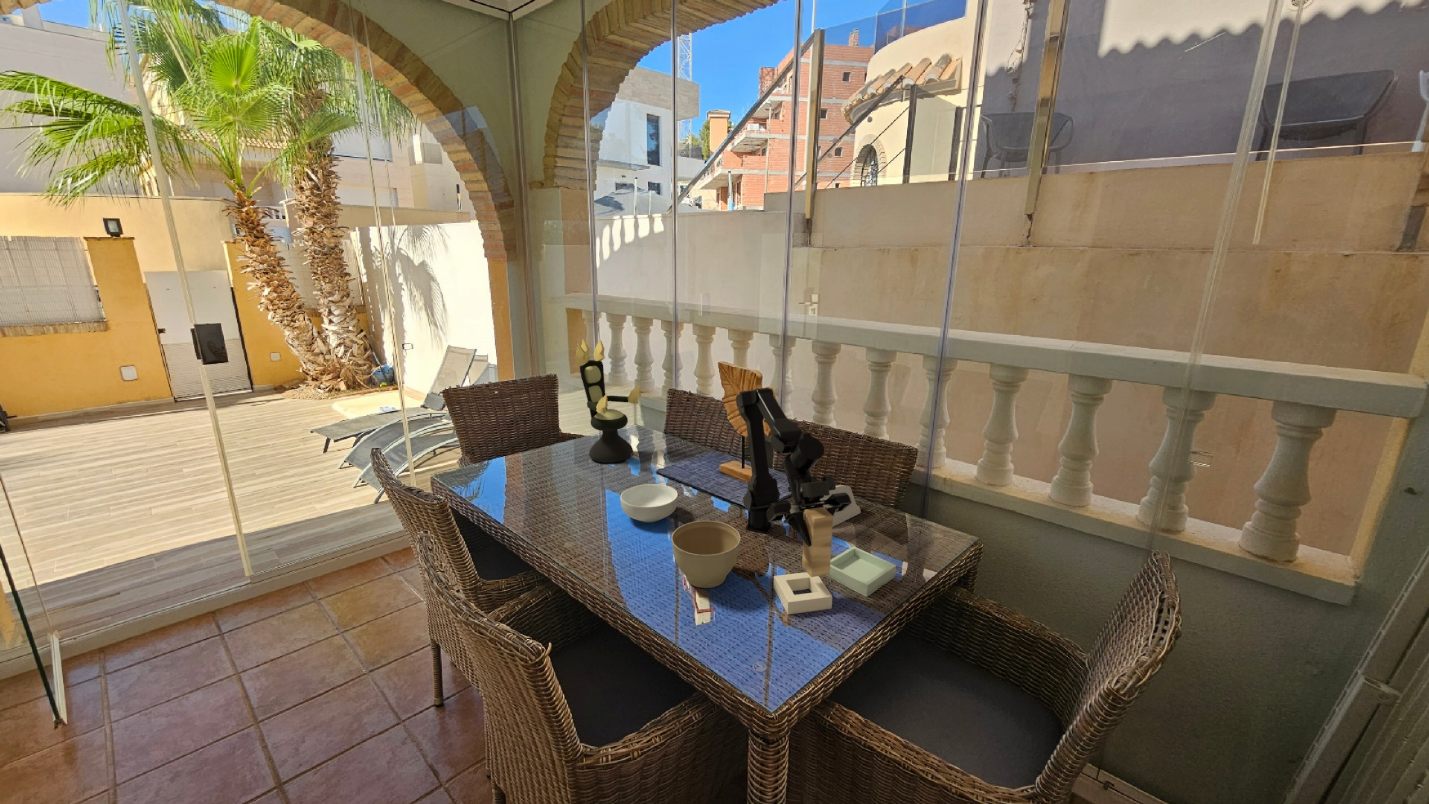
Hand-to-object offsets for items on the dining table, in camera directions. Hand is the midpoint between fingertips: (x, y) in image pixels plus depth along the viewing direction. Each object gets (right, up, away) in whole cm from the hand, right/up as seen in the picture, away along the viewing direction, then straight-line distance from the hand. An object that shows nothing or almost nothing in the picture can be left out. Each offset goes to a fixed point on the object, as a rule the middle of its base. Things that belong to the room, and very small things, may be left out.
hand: (820, 544), depth 118 cm
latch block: (-3, -13, +4) cm, 14 cm away
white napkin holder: (+12, -3, +42) cm, 44 cm away
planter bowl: (-25, -11, +12) cm, 30 cm away
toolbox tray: (+12, -11, +12) cm, 20 cm away
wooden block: (0, -6, +3) cm, 7 cm away
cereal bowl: (-42, -3, +43) cm, 60 cm away
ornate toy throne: (-65, +10, +92) cm, 113 cm away
